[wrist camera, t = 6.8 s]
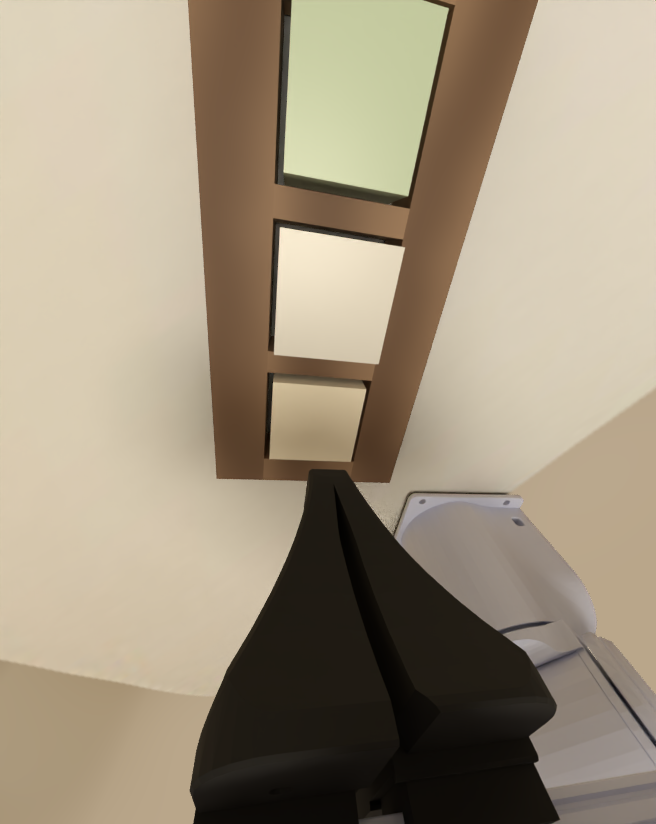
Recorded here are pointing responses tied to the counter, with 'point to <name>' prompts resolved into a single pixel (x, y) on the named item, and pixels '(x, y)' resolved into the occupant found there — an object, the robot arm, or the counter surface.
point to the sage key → (359, 94)
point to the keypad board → (332, 219)
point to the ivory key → (333, 296)
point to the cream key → (315, 417)
